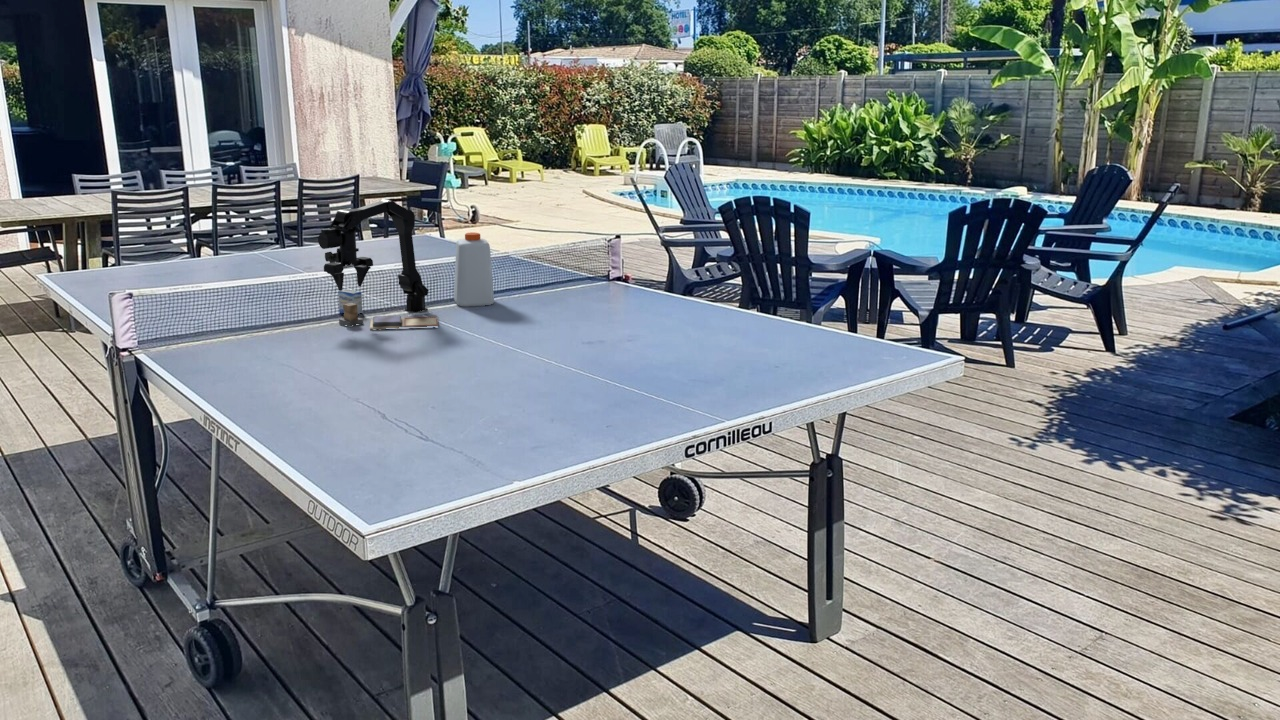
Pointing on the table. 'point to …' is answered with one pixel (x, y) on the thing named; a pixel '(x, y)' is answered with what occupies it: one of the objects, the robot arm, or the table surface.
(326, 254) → the robot arm
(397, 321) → the board
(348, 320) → the stamp
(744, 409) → the table surface
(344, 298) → the medicine box
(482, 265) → the plastic bottle
